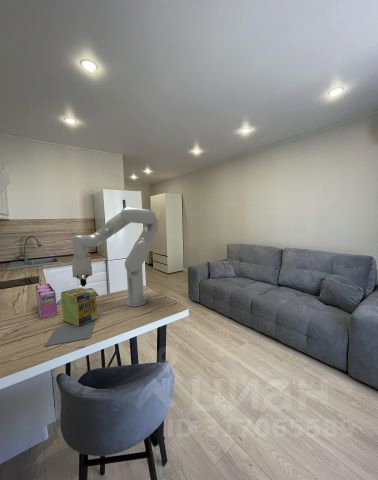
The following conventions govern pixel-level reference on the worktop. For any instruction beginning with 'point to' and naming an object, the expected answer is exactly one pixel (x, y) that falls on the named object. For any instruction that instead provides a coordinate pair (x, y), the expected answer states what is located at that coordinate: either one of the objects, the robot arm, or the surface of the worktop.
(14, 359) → the worktop surface
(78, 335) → the rubber mat
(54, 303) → the gum box
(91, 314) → the protein box
